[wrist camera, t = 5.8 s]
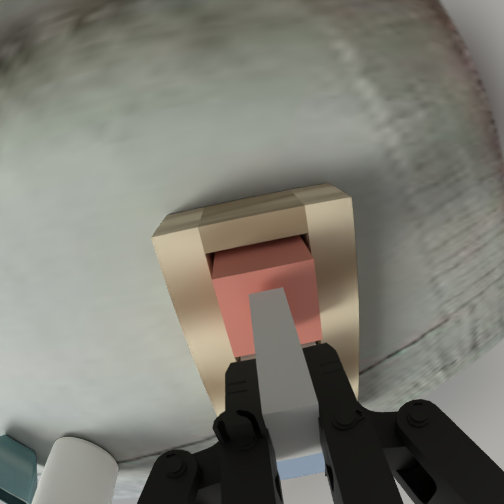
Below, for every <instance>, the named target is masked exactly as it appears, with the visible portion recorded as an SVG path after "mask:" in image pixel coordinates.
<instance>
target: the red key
mask: <svg viewBox="0 0 504 504" xmlns="http://www.w3.org/2000/svg"><path fill="white" fill-rule="evenodd" d="M212 282H213V286H214V289H215V293H216V296H217V300H218V304H219V307H220V311H221V314H222V318H223V321H224V324H225V328H226V331H227V335H228V338H229V341H230V345H231V348H232V351H233V355H234V357H239V356H245V355H251V354H255V347H254V339H253V330H252V321H251V312H250V303H249V294H252V293H257V292H262V291H267V290H272V289H276V288H281V287H283V289H284V292H285V295H286V298H287V301H288V305H289V308H290V311H291V314H292V318H293V321H294V324H295V327H296V331H297V334H298V337H299V340H300V344H305V343H310V342H314V341H318V340H322V330H321V319H320V309H319V300H318V291H317V282H316V273H315V265H314V258H313V257H312V255H311V253H310V252H309V250H308V248H307V247H306V245H305V243H304V242H303V240H302V238H301V237H300V235H295V236H290V237H285V238H280V239H275V240H270V241H265V242H260V243H255V244H250V245H245V246H240V247H235V248H230V249H226V250H221V251H216V252H215V256H214V265H213V273H212Z"/></svg>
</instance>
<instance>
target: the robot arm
mask: <svg viewBox="0 0 504 504" xmlns="http://www.w3.org/2000/svg"><path fill="white" fill-rule="evenodd" d="M249 303H250V312H251V321H252V330H253V339H254V347H255V356H256V358H255V359H250V360H244V361H238V362H232V363H230V365H229V367H228V369H227V370H226V372H225V411H224V412H222V413H221V414H219V416H218V417H217V418H216V419H215V421H214V424H213V430H214V432H215V434H216V436H217V438H218V440H219V441H218V442H217V443H216V444H215V445H213V446H212V447H210V448H207V449H205V450H202V451H200V452H197V453H194V454H191V453H190V452H188V451H185V450H171V451H168V452H165V453H164V454H162V455H161V456H160V457H158V459H157V460H156V462H155V463H154V465H153V468H152V470H151V472H150V475H149V477H148V479H147V481H146V484H145V486H144V488H143V491H142V493H141V495H140V498H139V500H138V502H137V504H284V502H283V497H282V489H281V482H280V476H279V473H278V470H277V461H283V460H288V459H294V458H299V457H304V456H308V455H313V454H317V453H322V452H323V456H324V460H325V476H327V477H328V481H329V485H330V489H331V494H332V497H333V501H334V504H403V501H402V498H401V496H400V493H399V490H398V488H397V485H396V483H395V480H394V478H395V479H396V480H397V482H398V483H399V484H400V485H401V487H402V488H403V489H404V491H405V492H406V493H407V494H408V496H409V497H410V498H411V500H412V501H413V502H414V503H415V504H504V471H503V470H502V469H501V468H499V466H498V465H497V464H496V463H495V462H494V461H493V460H491V459H490V457H489V456H488V455H487V454H486V453H485V452H483V451H482V450H481V449H480V448H479V447H478V446H477V445H476V444H475V443H474V442H473V441H472V440H471V439H470V438H469V437H468V436H467V435H466V434H465V433H464V432H463V431H462V430H461V429H460V428H459V427H458V426H457V425H456V424H455V423H454V422H453V421H452V420H451V419H450V418H449V417H448V416H447V415H446V414H445V413H444V412H442V411H441V410H440V409H439V408H438V407H437V406H436V405H435V404H433V403H432V402H430V401H427V400H423V399H419V400H412V401H409V402H407V403H405V404H404V405H403V406H402V407H401V408H400V409H399V411H398V412H374V411H370V410H368V409H366V408H364V407H363V406H362V405H360V404H359V402H358V401H357V399H356V396H355V394H354V392H353V389H352V387H351V384H350V382H349V380H348V377H347V375H346V373H345V370H344V368H343V365H342V363H341V362H340V358H339V356H338V354H337V351H336V350H335V349H334V348H333V347H332V346H330V345H329V344H328V343H327V342H326V343H322V344H318V345H313V346H309V347H305V348H302V347H301V344H300V340H299V337H298V334H297V331H296V327H295V324H294V321H293V318H292V314H291V311H290V308H289V305H288V301H287V298H286V295H285V292H284V289H283V287H281V288H276V289H272V290H267V291H262V292H257V293H252V294H249ZM393 476H394V477H393Z"/></svg>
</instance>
